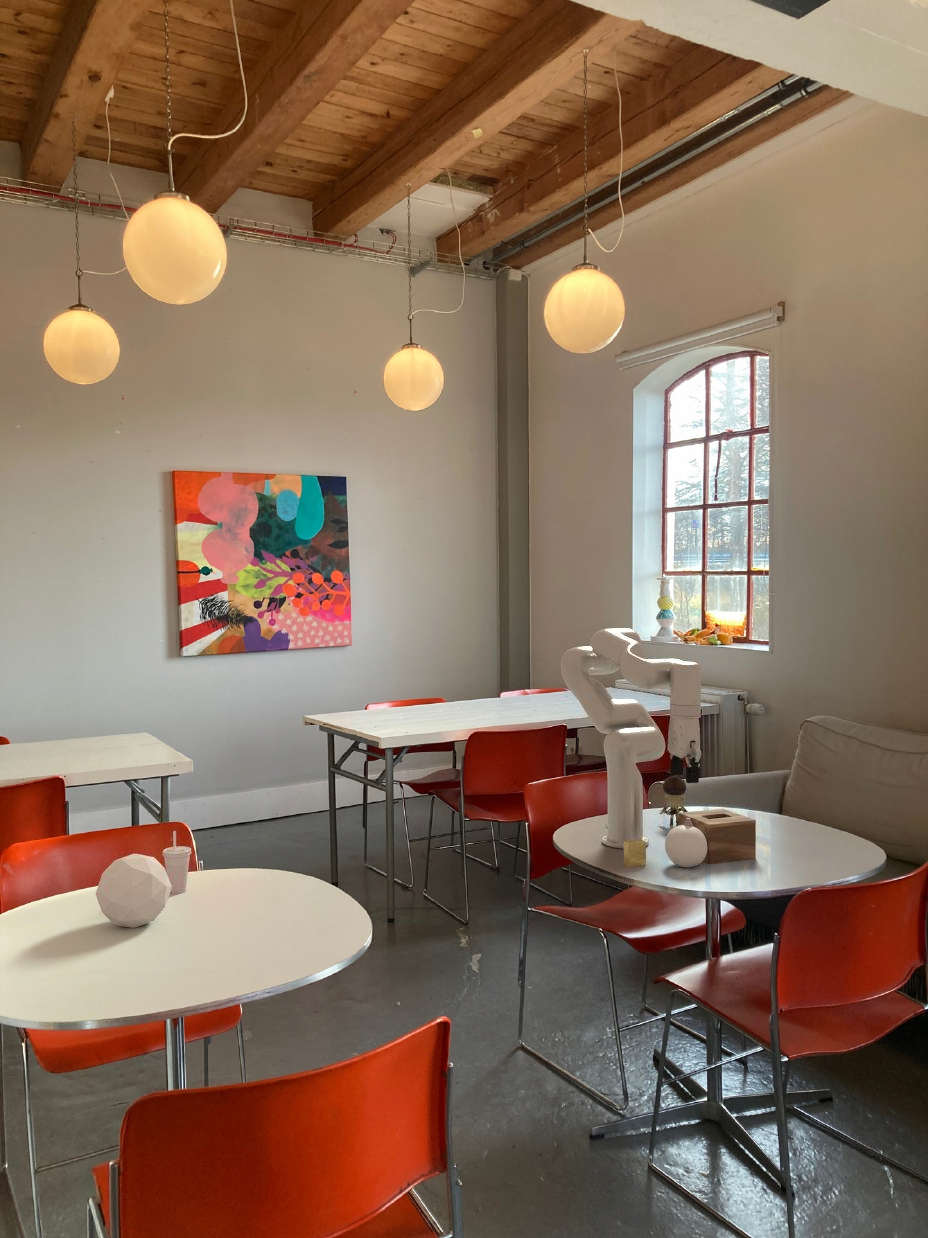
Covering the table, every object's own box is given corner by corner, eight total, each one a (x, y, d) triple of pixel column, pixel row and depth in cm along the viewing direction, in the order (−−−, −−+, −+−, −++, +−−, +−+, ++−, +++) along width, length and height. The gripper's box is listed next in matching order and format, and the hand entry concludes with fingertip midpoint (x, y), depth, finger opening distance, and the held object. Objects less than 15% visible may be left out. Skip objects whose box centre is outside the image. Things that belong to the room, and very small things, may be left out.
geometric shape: (146, 941, 194) (184, 876, 200) (143, 939, 180) (184, 869, 187) (85, 910, 193) (126, 845, 199) (77, 906, 179) (121, 837, 186)
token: (623, 864, 231) (623, 841, 231) (641, 862, 233) (641, 839, 233) (628, 867, 229) (628, 843, 229) (646, 865, 230) (646, 841, 230)
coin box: (678, 850, 244) (678, 812, 244) (723, 845, 249) (723, 808, 249) (709, 864, 231) (709, 824, 231) (755, 858, 236) (755, 820, 235)
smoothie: (170, 886, 215) (169, 827, 215) (196, 887, 214) (195, 828, 214) (158, 895, 208) (157, 834, 208) (185, 896, 208) (184, 835, 208)
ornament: (701, 860, 234) (701, 814, 234) (711, 872, 224) (711, 823, 224) (661, 860, 234) (661, 814, 234) (670, 872, 224) (669, 823, 224)
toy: (689, 823, 274) (689, 773, 274) (690, 828, 267) (690, 777, 267) (659, 821, 276) (659, 772, 276) (659, 827, 269) (659, 776, 269)
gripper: (658, 706, 237) (657, 772, 238) (684, 716, 220) (683, 786, 221) (685, 706, 238) (684, 771, 239) (714, 715, 221) (713, 785, 222)
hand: (684, 778), depth 230 cm, fingers open, 9 cm apart
